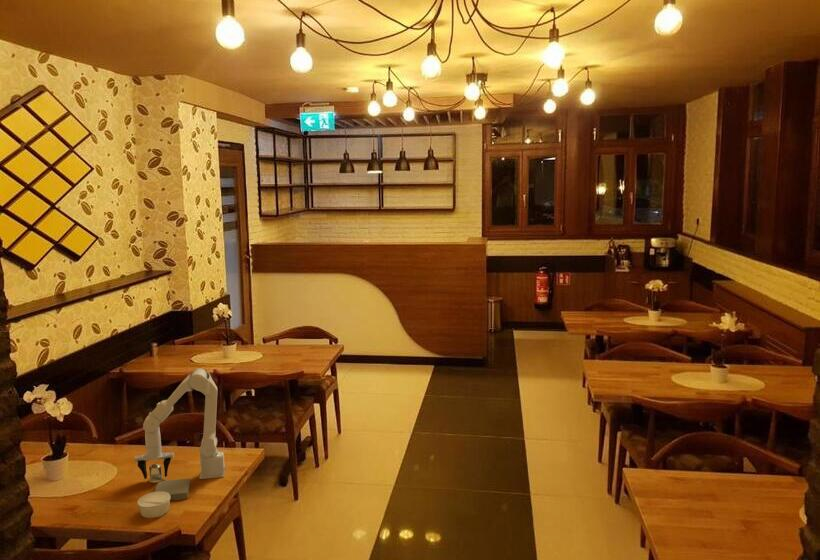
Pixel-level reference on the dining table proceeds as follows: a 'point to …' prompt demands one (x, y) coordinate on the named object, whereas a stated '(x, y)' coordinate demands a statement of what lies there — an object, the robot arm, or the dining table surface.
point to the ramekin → (154, 504)
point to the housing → (155, 473)
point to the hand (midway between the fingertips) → (155, 476)
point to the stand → (175, 488)
